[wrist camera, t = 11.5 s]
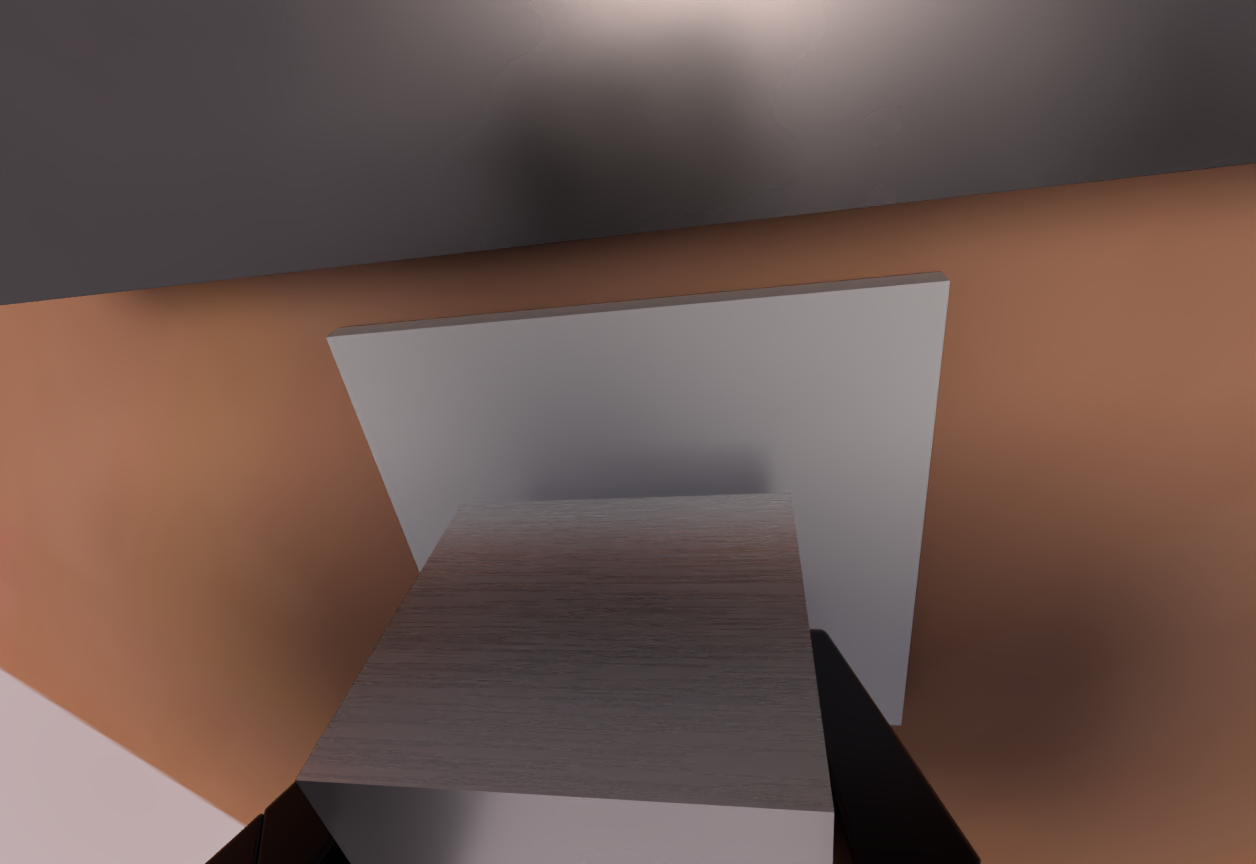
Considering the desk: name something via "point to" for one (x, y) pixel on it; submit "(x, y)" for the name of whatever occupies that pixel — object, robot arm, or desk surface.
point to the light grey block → (589, 694)
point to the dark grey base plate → (564, 120)
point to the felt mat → (684, 425)
